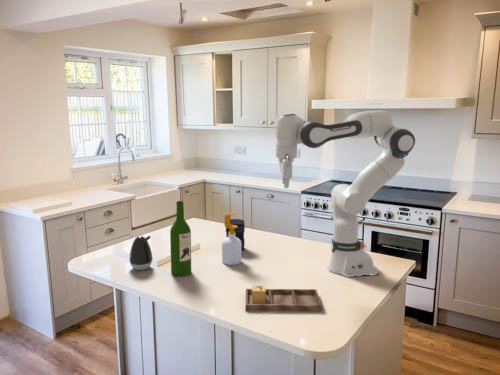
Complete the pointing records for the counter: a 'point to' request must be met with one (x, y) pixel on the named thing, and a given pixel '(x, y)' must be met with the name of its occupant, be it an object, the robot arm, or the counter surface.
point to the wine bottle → (180, 244)
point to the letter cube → (258, 294)
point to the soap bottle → (231, 245)
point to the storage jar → (238, 230)
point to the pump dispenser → (141, 253)
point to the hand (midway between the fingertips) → (285, 185)
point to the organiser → (286, 300)
